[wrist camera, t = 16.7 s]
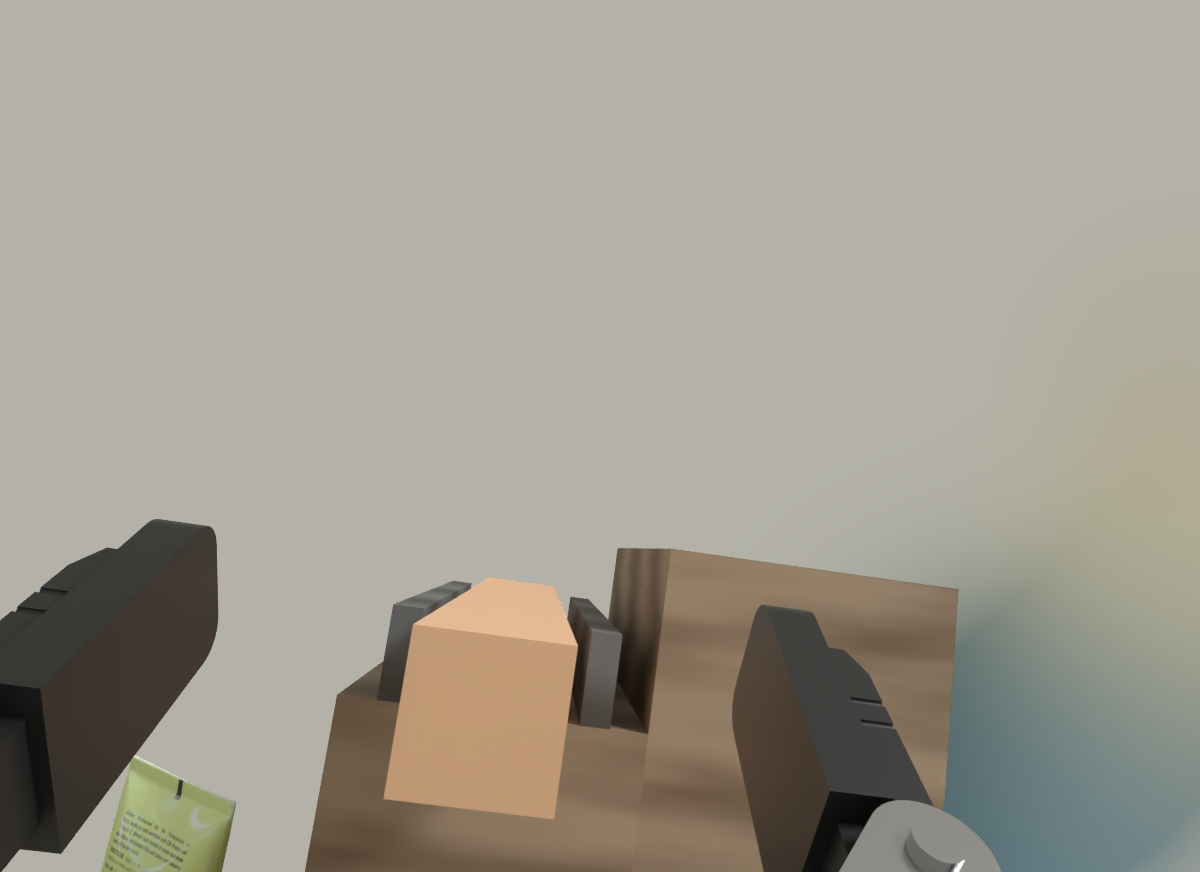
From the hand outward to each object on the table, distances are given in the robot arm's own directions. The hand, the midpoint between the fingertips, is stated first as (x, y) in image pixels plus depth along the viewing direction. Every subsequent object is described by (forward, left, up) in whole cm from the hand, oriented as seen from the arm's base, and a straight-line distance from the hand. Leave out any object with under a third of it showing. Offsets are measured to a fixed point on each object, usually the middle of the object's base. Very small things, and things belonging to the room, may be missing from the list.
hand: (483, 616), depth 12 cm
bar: (-9, -16, -4) cm, 19 cm away
